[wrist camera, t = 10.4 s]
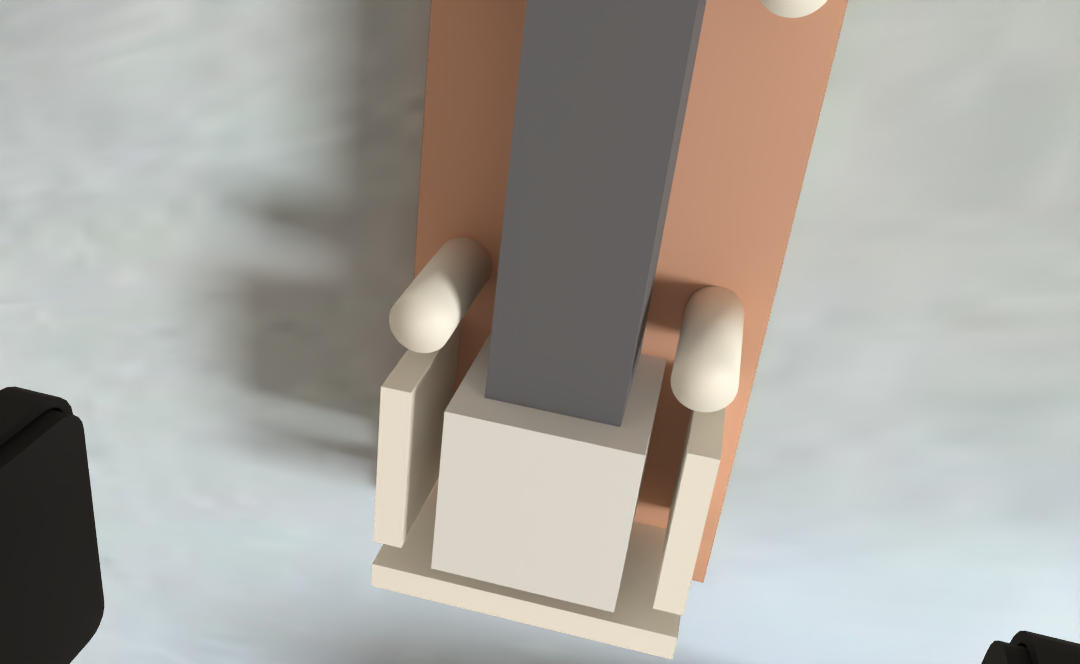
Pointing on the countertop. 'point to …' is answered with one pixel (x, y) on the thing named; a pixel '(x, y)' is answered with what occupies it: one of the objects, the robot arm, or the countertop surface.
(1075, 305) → the countertop surface
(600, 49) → the grey post with base
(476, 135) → the orange peg rack
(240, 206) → the countertop surface
